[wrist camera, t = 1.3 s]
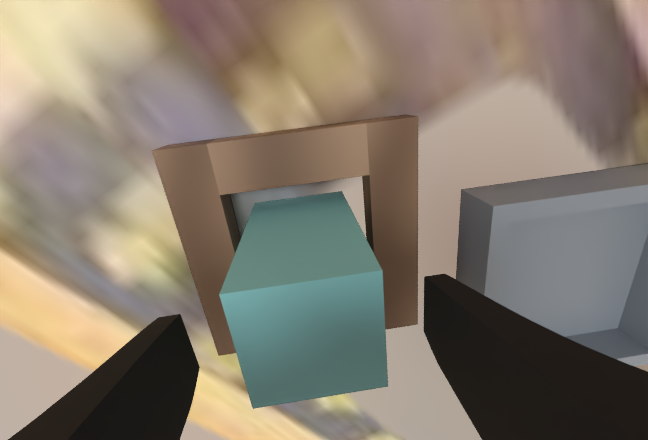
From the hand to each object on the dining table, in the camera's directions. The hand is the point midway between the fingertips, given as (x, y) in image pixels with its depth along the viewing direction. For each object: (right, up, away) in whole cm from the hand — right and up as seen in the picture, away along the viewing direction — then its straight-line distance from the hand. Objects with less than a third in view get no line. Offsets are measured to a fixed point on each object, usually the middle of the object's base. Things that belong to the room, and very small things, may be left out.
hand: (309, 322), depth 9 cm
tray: (+13, 0, +8) cm, 15 cm away
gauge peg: (0, +2, +6) cm, 6 cm away
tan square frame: (0, +2, +6) cm, 6 cm away
